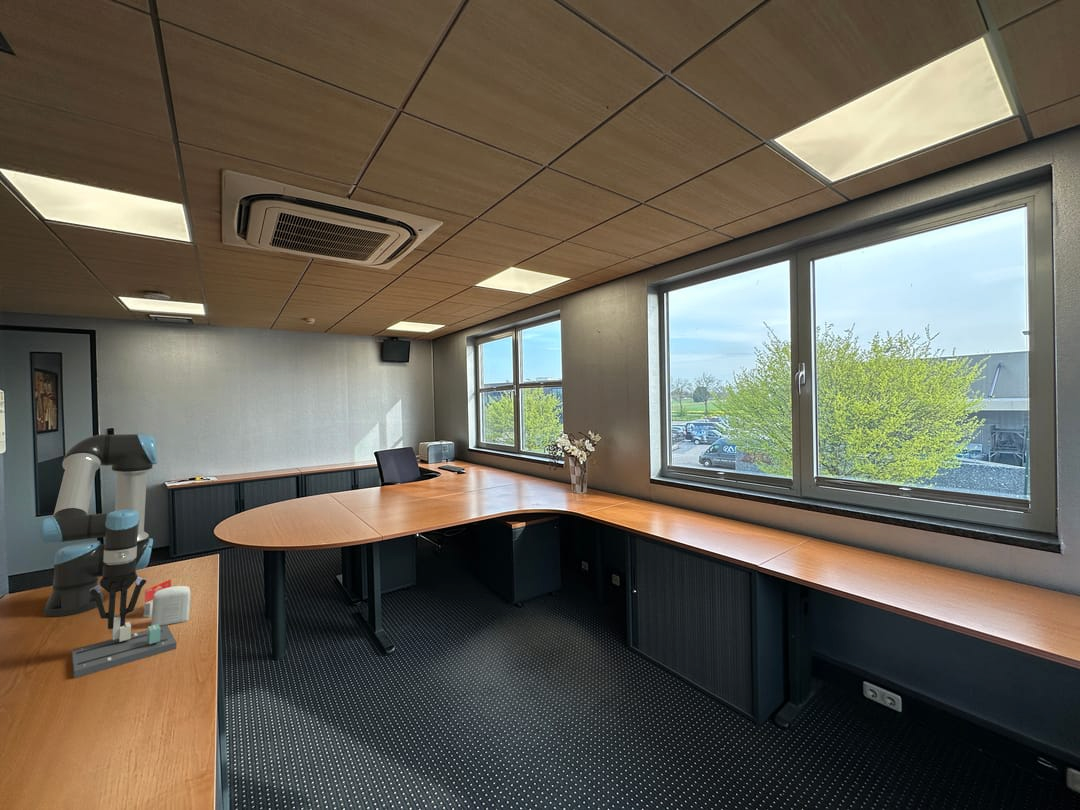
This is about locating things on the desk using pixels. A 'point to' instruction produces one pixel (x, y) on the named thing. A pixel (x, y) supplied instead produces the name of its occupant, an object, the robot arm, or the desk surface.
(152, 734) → the desk surface
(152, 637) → the teal fader
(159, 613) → the photo printer
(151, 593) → the ink cartridge box
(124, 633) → the ivory fader
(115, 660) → the console
